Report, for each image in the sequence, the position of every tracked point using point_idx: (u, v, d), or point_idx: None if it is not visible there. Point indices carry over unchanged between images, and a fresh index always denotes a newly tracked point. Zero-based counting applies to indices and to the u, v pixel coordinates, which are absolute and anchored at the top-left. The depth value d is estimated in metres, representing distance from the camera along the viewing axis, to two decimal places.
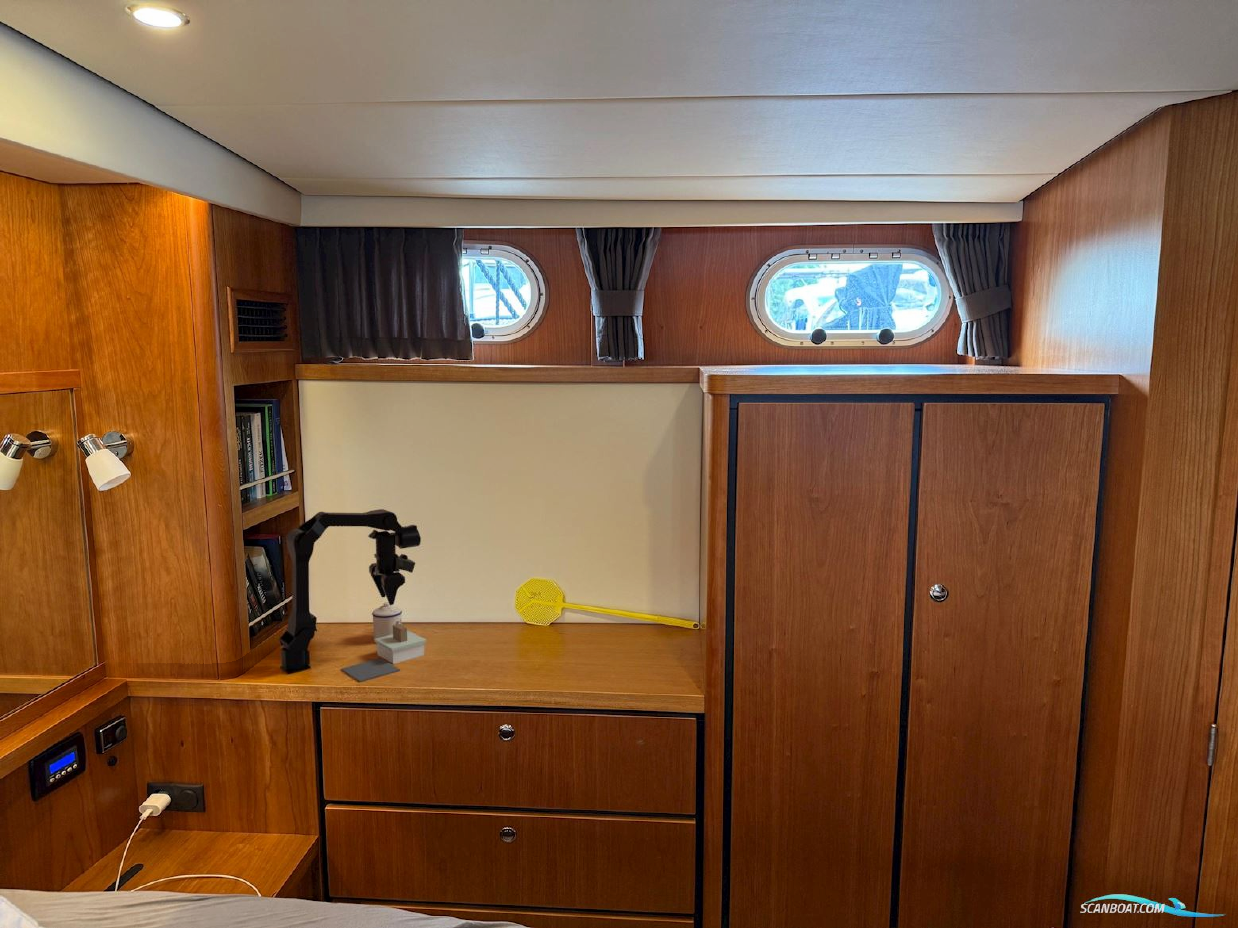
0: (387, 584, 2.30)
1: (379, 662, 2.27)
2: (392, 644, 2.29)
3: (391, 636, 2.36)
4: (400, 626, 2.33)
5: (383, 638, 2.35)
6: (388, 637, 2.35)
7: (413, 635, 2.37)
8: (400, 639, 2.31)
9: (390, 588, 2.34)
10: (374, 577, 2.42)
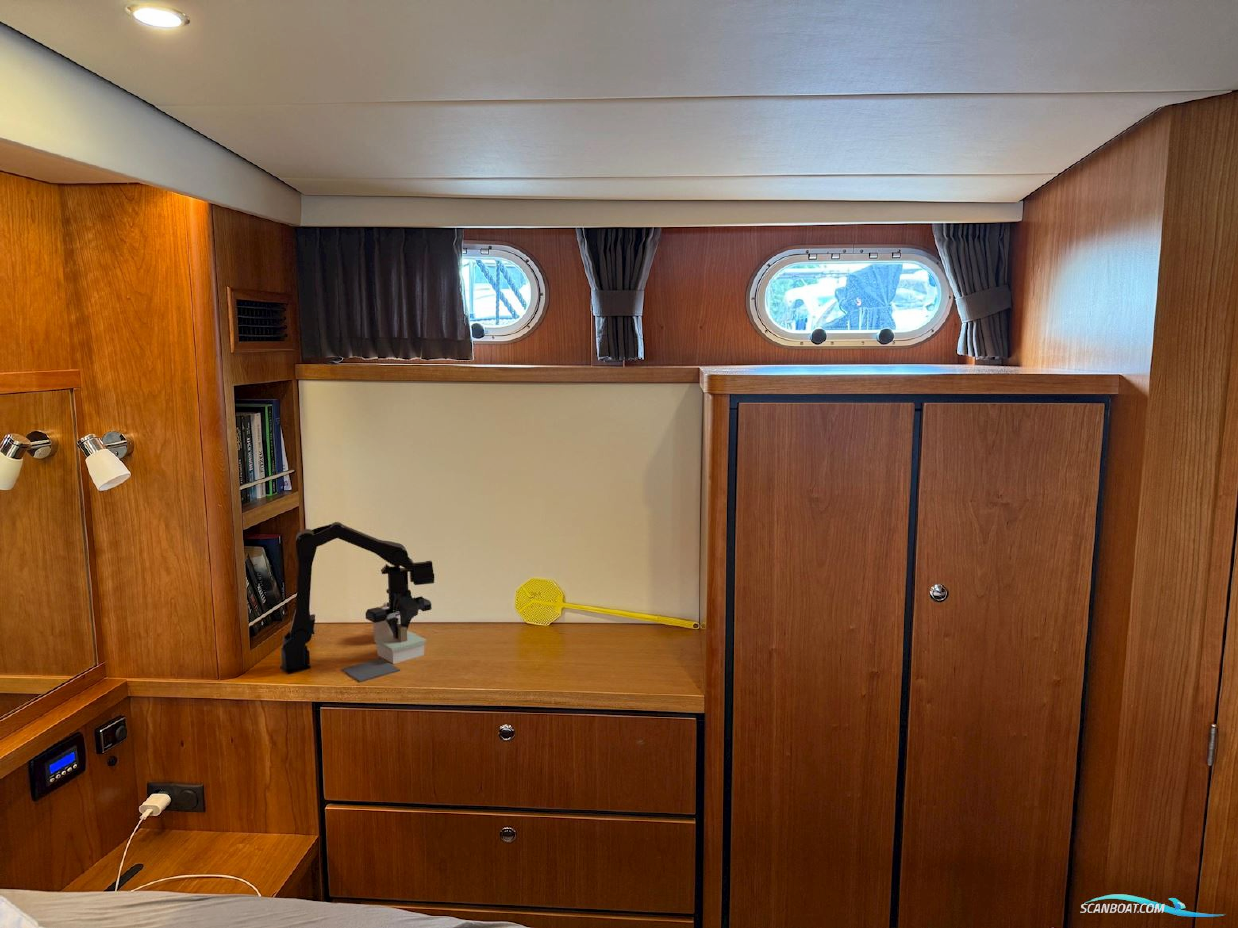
0: (366, 617, 2.28)
1: (379, 662, 2.27)
2: (392, 644, 2.29)
3: (391, 636, 2.36)
4: (400, 626, 2.33)
5: (383, 638, 2.35)
6: (388, 637, 2.35)
7: (413, 635, 2.37)
8: (400, 639, 2.31)
9: None
10: (400, 613, 2.36)
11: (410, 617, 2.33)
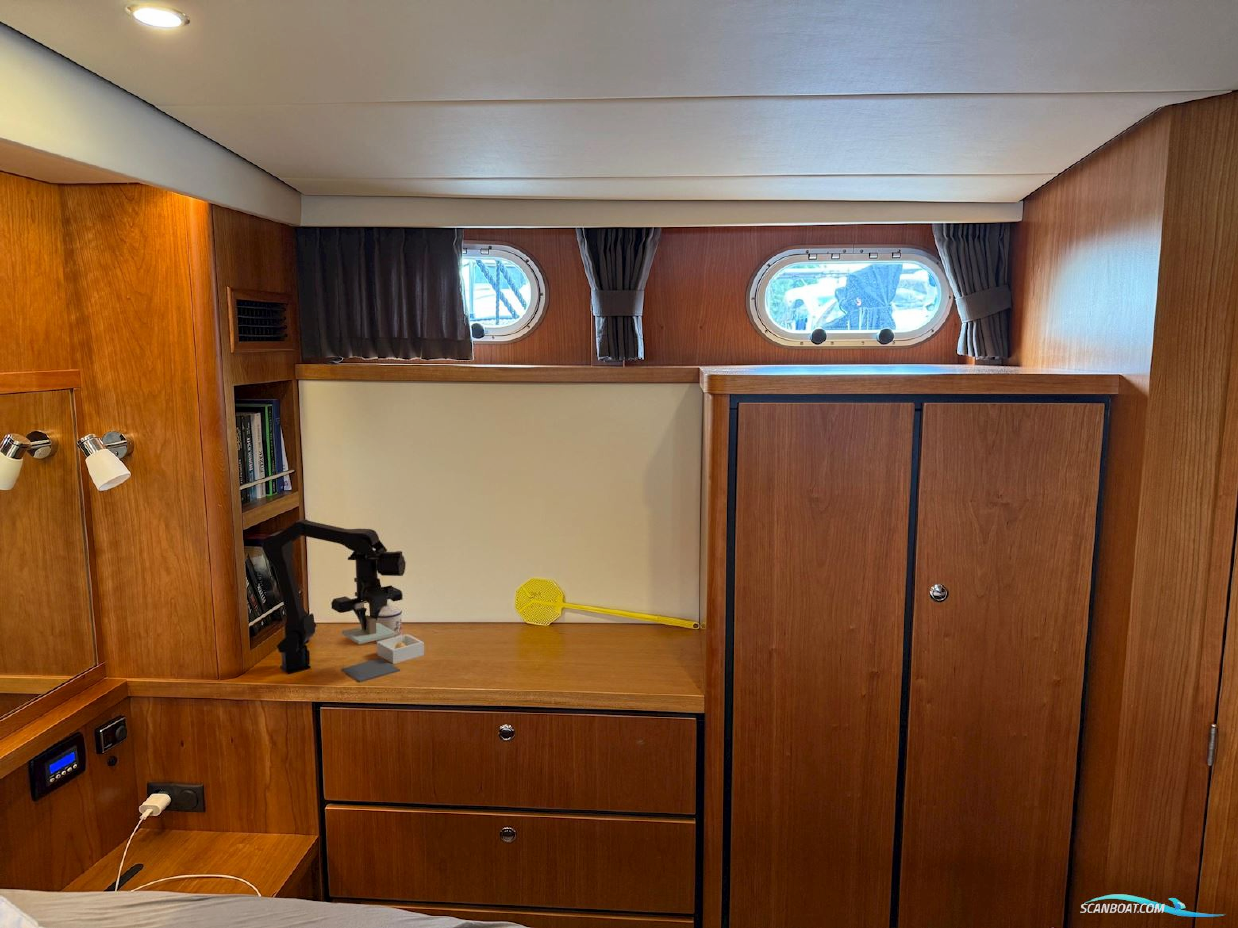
0: None
1: (379, 662, 2.27)
2: (360, 637, 2.17)
3: (360, 628, 2.24)
4: (369, 618, 2.21)
5: (351, 630, 2.22)
6: (356, 629, 2.23)
7: (383, 627, 2.25)
8: (369, 631, 2.19)
9: (359, 611, 2.19)
10: None
11: (379, 607, 2.20)
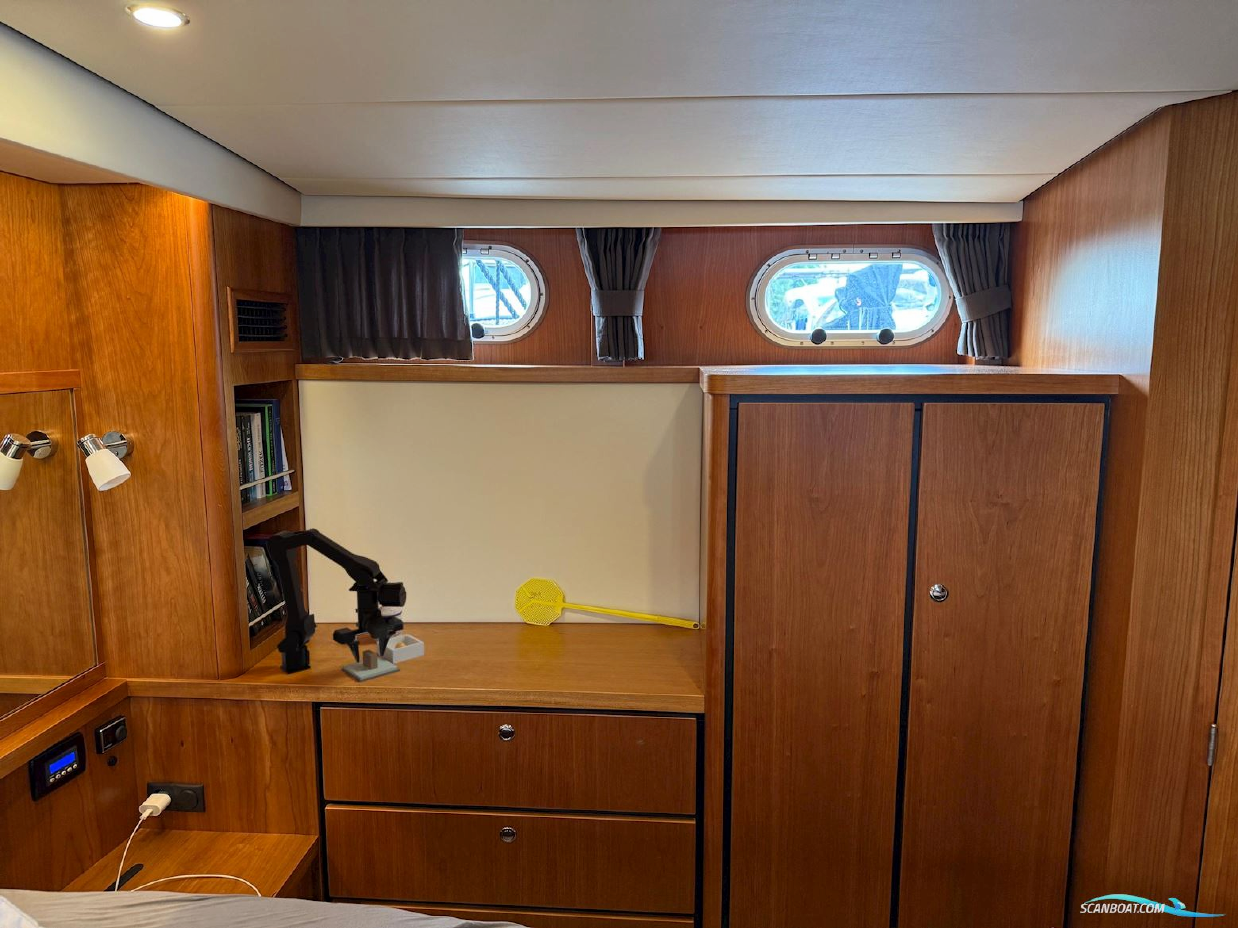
0: (333, 638, 2.16)
1: None
2: (361, 672, 2.18)
3: (361, 662, 2.25)
4: (370, 652, 2.22)
5: (352, 665, 2.23)
6: (358, 664, 2.24)
7: (384, 661, 2.26)
8: (370, 666, 2.20)
9: None
10: None
11: (388, 636, 2.23)
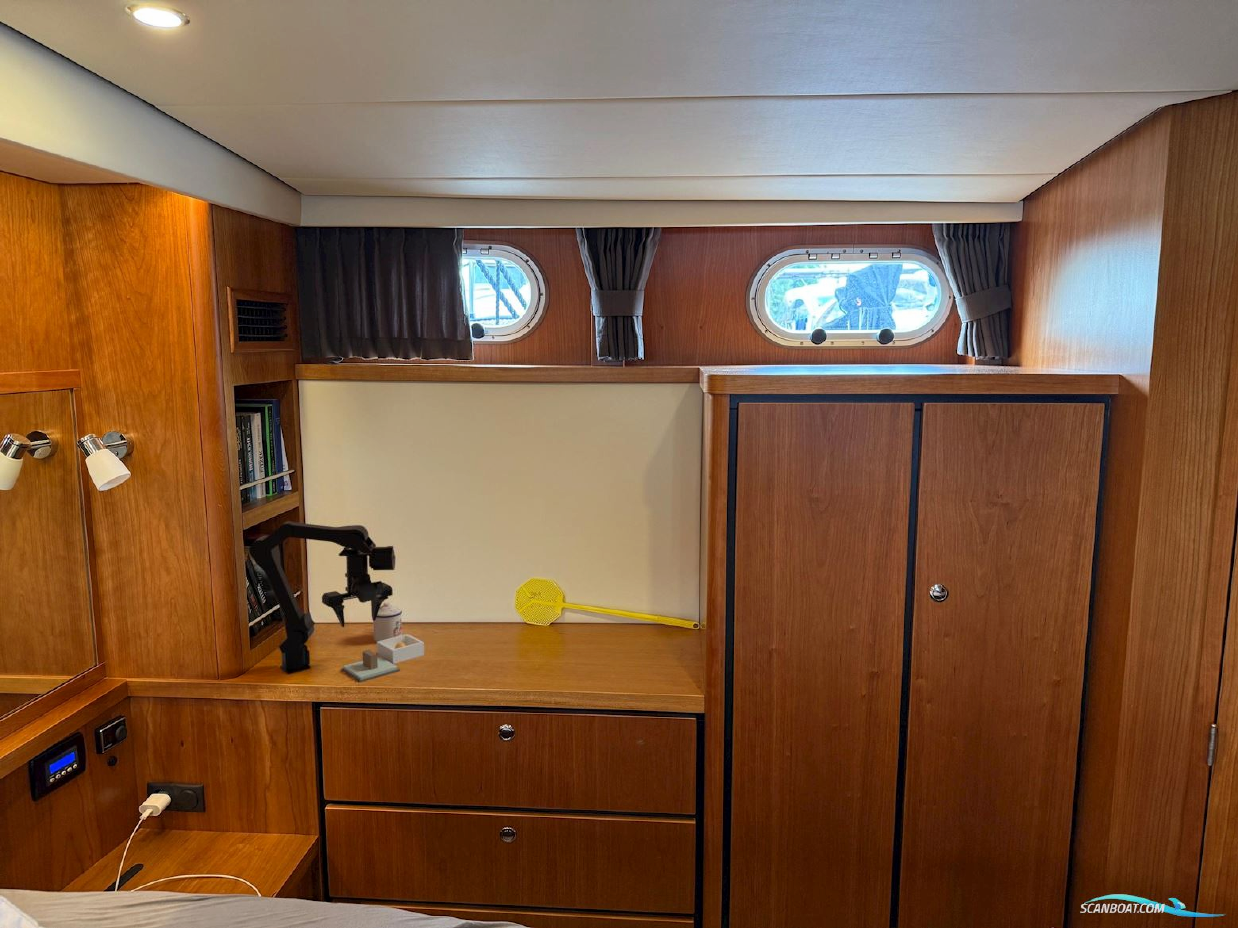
0: (322, 601, 2.19)
1: None
2: (361, 672, 2.18)
3: (361, 662, 2.25)
4: (370, 652, 2.22)
5: (352, 665, 2.23)
6: (358, 664, 2.24)
7: (384, 661, 2.26)
8: (370, 666, 2.20)
9: (337, 608, 2.20)
10: None
11: (380, 600, 2.26)
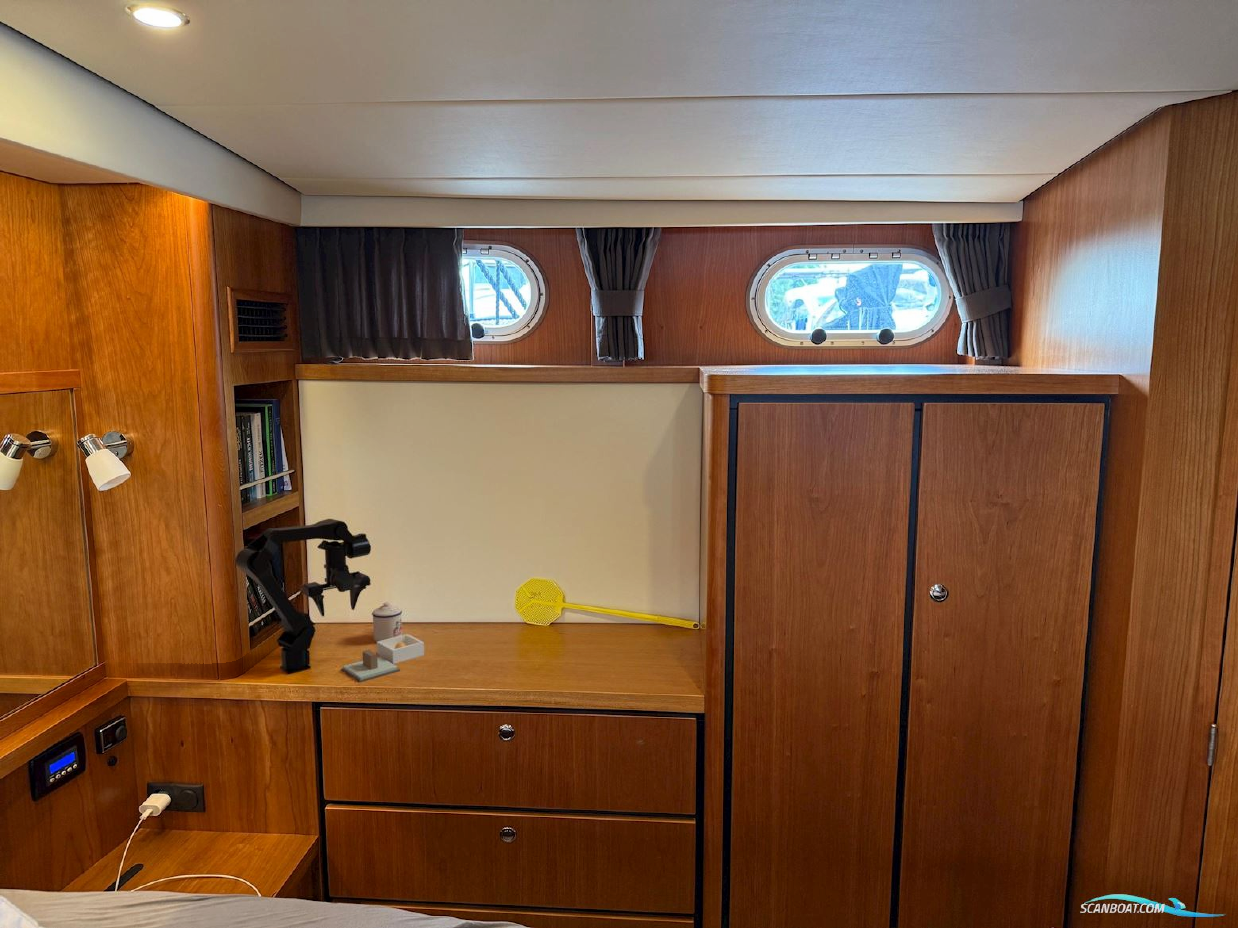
0: (302, 592, 2.27)
1: None
2: (361, 672, 2.18)
3: (361, 662, 2.25)
4: (370, 652, 2.22)
5: (352, 665, 2.23)
6: (358, 664, 2.24)
7: (384, 661, 2.26)
8: (370, 666, 2.20)
9: (317, 598, 2.29)
10: None
11: (359, 590, 2.35)
